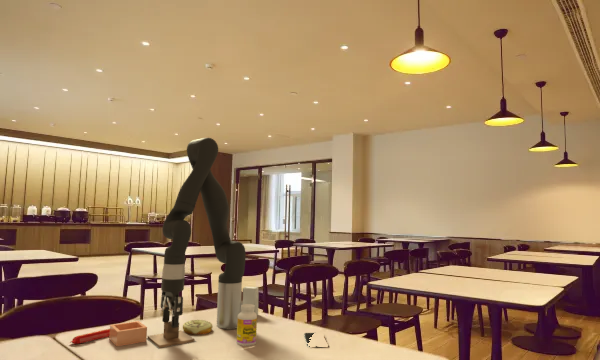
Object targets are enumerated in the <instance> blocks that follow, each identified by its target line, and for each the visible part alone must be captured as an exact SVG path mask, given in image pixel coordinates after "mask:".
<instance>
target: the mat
mask: <svg viewBox="0 0 600 360" xmlns="http://www.w3.org/2000/svg"><path fill="white" fill-rule="evenodd" d="M146 341H148V342H149V343H151V344H152V345H153V346H154V347H155V348H157V349H158V350H160V349H165V348H170V347H176V346H182V345H186V344H192V343H197V341H196V340H195V341H194V342H188V343H183V344H178V345H172V346H167V347H162V348H159V347H158V346H156V345H155V344H154V343H153V342H151V341H150V340H149V339H148V337H147V339H146Z"/></svg>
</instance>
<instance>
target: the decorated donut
mask: <svg viewBox="0 0 600 360" xmlns="http://www.w3.org/2000/svg"><path fill="white" fill-rule="evenodd" d="M213 328H214V327H213V323H212V322H211V321H208V320H206V319H191V320H190V321H189V320H188V321H186V322H184V323H183V324H182V329H183V332H184V333H186V334H188V335H206V334H207V335H208V334H209V333H210V332H212V331H213V330H212V329H213Z"/></svg>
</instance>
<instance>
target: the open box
mask: <svg viewBox="0 0 600 360" xmlns="http://www.w3.org/2000/svg"><path fill="white" fill-rule="evenodd" d="M109 329H110V336H109V341H111V342H112V343H113V345H115V346H116V347H121V346H126V345H132V344H139V343H143V342H144V343H145V342H147V338H148V334H147V333H148V327H147V326H146V325H145V324H143V323H142V322H141V321H140V320H136V321H131V322H130V321H129V322H123V323H122V322H121V323H116V324H115V323H114V324H110V325H109Z"/></svg>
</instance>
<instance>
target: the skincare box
mask: <svg viewBox="0 0 600 360" xmlns="http://www.w3.org/2000/svg"><path fill="white" fill-rule="evenodd" d="M242 301H243V304H253V305H255V309H254V312H255V313H256V314H257V316H258V315H259V286H246V285H245V286H244V287H243V288H242Z"/></svg>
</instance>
